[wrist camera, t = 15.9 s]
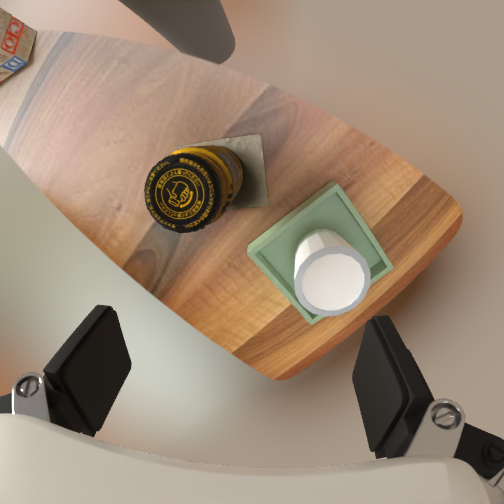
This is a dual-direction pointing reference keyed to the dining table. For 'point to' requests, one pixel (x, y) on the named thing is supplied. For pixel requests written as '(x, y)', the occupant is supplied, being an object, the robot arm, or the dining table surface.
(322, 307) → the shot glass
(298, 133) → the dining table surface
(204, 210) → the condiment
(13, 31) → the stack of blocks
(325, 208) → the tray
